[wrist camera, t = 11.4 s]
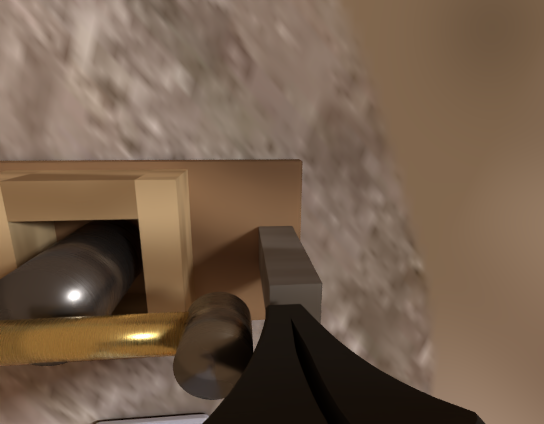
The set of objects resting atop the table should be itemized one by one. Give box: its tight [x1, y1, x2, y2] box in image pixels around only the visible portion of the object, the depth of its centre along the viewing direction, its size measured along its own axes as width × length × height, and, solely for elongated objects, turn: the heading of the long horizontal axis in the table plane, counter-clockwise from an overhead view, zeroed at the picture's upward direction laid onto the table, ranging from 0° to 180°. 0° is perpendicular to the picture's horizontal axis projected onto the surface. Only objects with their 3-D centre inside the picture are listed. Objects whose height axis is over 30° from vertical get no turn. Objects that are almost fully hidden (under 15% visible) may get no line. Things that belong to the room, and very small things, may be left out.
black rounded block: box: [0, 219, 143, 366], centre depth 16 cm, size 4×4×7 cm
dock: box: [0, 159, 322, 366], centre depth 16 cm, size 10×17×8 cm, turn 90°
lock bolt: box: [0, 292, 253, 400], centre depth 11 cm, size 2×9×2 cm, turn 90°
